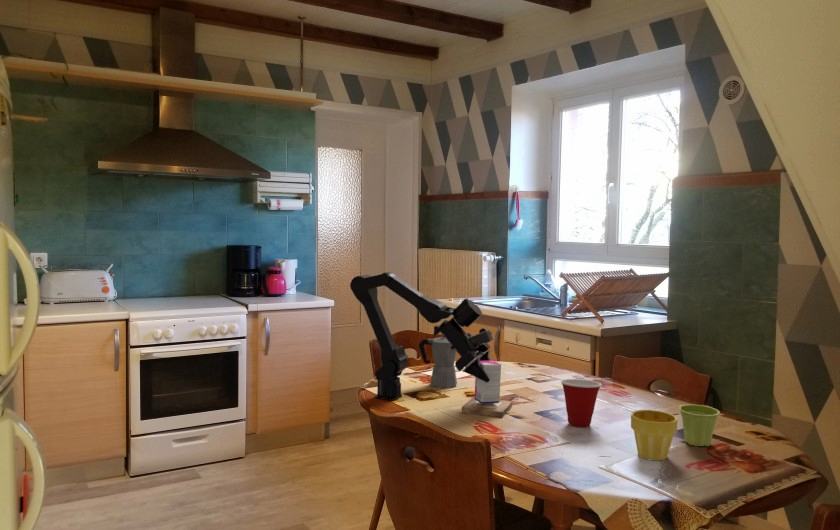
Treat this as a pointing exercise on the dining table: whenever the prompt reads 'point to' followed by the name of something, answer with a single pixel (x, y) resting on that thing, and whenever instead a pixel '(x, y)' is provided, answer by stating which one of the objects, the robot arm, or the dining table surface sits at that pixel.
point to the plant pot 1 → (653, 433)
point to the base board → (487, 408)
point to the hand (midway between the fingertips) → (492, 378)
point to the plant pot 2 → (698, 424)
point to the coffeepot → (441, 362)
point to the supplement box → (488, 383)
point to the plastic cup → (580, 400)
